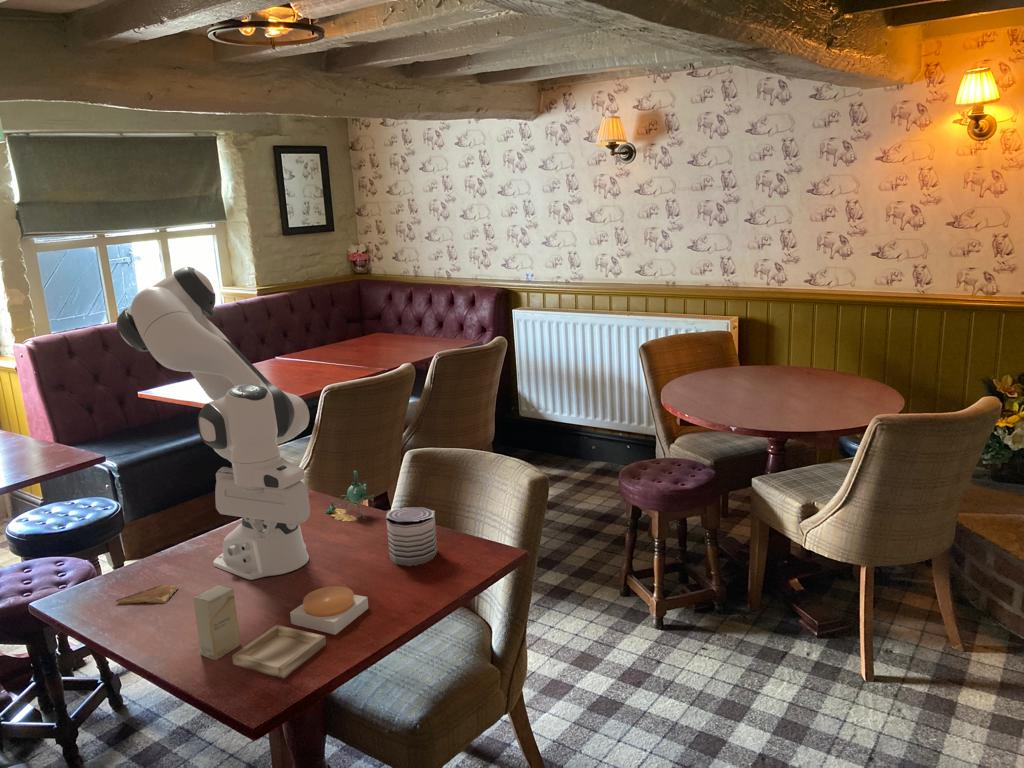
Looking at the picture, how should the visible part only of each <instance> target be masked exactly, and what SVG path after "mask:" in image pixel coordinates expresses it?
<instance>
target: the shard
mask: <svg viewBox="0 0 1024 768" xmlns="http://www.w3.org/2000/svg"><path fill="white" fill-rule="evenodd" d="M177 589H178V590H179V586H178V585H162V584H161V585H158V586H154V587H152V588H149V589H148V588H147V589H145V590H142V591H139V592H136V593H133V594H131V595H128V596H125V597H122V598H119V599H115V602H117V604H118V605H125V603H126V604H142V603H143V604H145V603H144V602H147V603H146V604H152V603H153V604H165V603H167V602H168V600H169V599H170V598H171V597H172V596H173V595H174V594H175V593H176V592H177V591H178V590H177ZM176 590H177V591H176ZM174 592H175V593H174ZM173 593H174V594H173ZM172 594H173V595H172ZM169 597H170V598H169ZM141 602H142V603H141Z"/></svg>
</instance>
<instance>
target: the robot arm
mask: <svg viewBox="0 0 1024 768" xmlns="http://www.w3.org/2000/svg"><path fill="white" fill-rule="evenodd" d="M215 305H216V293H215V290H214V287H213V285H212V283H211V281H210V280H209V278H208V277H207V276H206V275H205V274H203V273H202V272H201V271H199V270H196V269H195V268H194V267H190V266H185V267H181V268H180V269H177V270H175V271H174V272H173V274H171V275H169V276H167V277H166V278H163V279H162V280H160V281H158V282H157V283H155V284H154V285H153V286H152V287H151V286H150V287H148V288H145V289H143V290H141V291H140V292H138V294H136V295H135V296H134V298H133V299H132V301H131V305H130V306H129V307H126V308H124V309H123V310H122V311H121V313H120V314H119V315H118V316H117V318H116V328H117V330H118V331H119V332H118V333H119V334H120V336H121V338H122V339H123V340H124V342H125V343H126V344H128V345H129V346H130V347H133V348H134V349H135V350H137V351H138V352H145V353H146V352H149V353H150V355H151V356H152V357H153V358H154V360H156V362H158V363H159V364H160V365H161V366H163V367H165V368H166V369H168V370H172V371H176V372H185V373H186V372H188V373H189V372H190V374H191V375H192V376H193V377H194V378H195V379H194V380H196V382H197V383H198V385H200V387H201V389H202V390H203V391H204V393H205V394H206V395H207V397H209V399H211V400H212V401H209V402H208V403H205V404H204V405H203V407H202V408H201V410H200V411H199V414H198V417H197V429H198V434H199V437H200V439H201V441H202V442H203V443H204V444H206V445H207V446H209V447H210V448H212V449H213V450H214V452H215V453H217V454H218V456H220V457H222V458H223V459H225V460H227V461H229V462H230V463H231V467H228V466H222V467H220V468H219V469H218V470H217V472H216V473H215V480H216V483H215V491H214V493H215V494H214V495H215V496H214V497H215V509H216V510H217V512H218V513H219V514H220V515H226V516H230V517H231V516H233V517H239V518H242V519H241V523H239V524H238V525H237V526H236V527H235V528H234V529H233V530H231V531H230V532H229V533H228V534H227V535H226V536H225V537H224V539H223V542H222V553H221V554H219V555H217V556H216V557H215V559H214V560H213V562H212V563H213V566H214V567H216V568H218V569H220V570H223V571H225V572H227V573H231V574H234V575H236V576H238V577H240V578H244V579H246V580H250V581H251V580H257V579H260V578H264V577H271V576H279V575H284V574H288V573H290V572H291V573H292V572H293V571H295V570H298V569H300V568H302V567H303V566H305V565H306V564H307V563H308V561H309V559H310V556H309V554H308V551H307V545H306V543H305V542H304V538H303V534H302V528H301V525H300V524H302V523H304V522H305V521H307V520H308V519H309V518H310V515H311V506H310V505H311V504H310V498H309V492H308V489H307V486H306V484H305V483H304V482H303V481H302V480H304V479H305V475H306V474H305V470H304V468H302V467H301V466H298V465H296V464H295V463H292V462H290V461H288V460H287V459H285V458H283V457H282V456H281V451H280V447H279V445H281V444H283V443H285V442H288V441H290V440H293V439H294V438H295V437H297V436H298V435H300V434H301V433H302V432H303V431H304V430H306V429H307V427H308V426H309V422H310V411H309V408H308V405H307V403H306V402H305V401H304V400H303V398H301V397H300V396H298V395H296V394H294V393H290V392H287V391H284V390H281V389H280V388H278V386H276V385H274V384H273V383H272V382H270V381H269V380H268V379H267V378H266V377H265V376H264V375H263V374H262V373H261V371H259V369H258V368H256V366H255V365H254V364H253V363H252V362H251V361H250V360H249V359H248V358H247V357H246V356H245V355H244V354H243V353H242V352H241V351H240V350H239V349H238V348H237V347H236V346H235V345H234V344H233V343H232V342H231V341H230V340H229V338H227V336H226V335H225V334H224V333H223V332H222V331H221V330H220V329H219V328H218V327H217V326H216V325H214V323H213V322H212V321H210V320H209V319H208V318H207V316H206V315H207V314H208V315H209V316H210V317H213V316H215V315H214V314H215V312H214V307H215Z"/></svg>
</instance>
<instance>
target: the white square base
mask: <svg viewBox="0 0 1024 768" xmlns="http://www.w3.org/2000/svg"><path fill="white" fill-rule="evenodd" d="M368 599H369V598H368V596H365V595H364V596H363V595H358V594H354V604H353V606H352V607H351V608H349V609H348V610H346V611H345V612H342V613H340V614H337V615H333V616H326V617H318V616H312V615H309V614H307V613H306V612H305V610H304V604H303V603H302V604H301V605H298V606H297V607H296V608H294V609H293V610H292V611H290V612H289V614H290V616H289V617H290V622H291V623H290V624H291V625H295V626H299V627H303V628H306V629H311V630H316V631H318V632H323V633H327V634H331V635H334V636H336V635H337V634H339V633H340V632H341V631H342V630H343V629H344V628H346V627H347V626H348V625H350V624H351V623H352V622H353V621H354V620H356V619H357V618H358V617H359V616H361V615H362V614H363V613H364V612H366V611H367V610H368V609H369V600H368Z"/></svg>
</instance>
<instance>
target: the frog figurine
mask: <svg viewBox="0 0 1024 768" xmlns="http://www.w3.org/2000/svg"><path fill="white" fill-rule="evenodd" d="M358 476H359V475H358V471H357V470H354V471H353V478H354V481H353V482H352V483H351V485H350V486H349V487H348V489H347V492H346V494H342V495H340V501H339V504H338V506H339V507H342V504H341V503H342V501H343V502H344V504H345V506H346V509H342V508H336V507H337V505H336V504H334V501H333V500H331V505H328V507H326V509H325V511H324V514H330V516H332V517H334V519H335V520H337V521H341V522H353V521H357V520H358V518H357V517H355V516H353V515H349V514H348V511H350V506H351V505H353V506H356V507H357V509H358V512H359V517H361V515H362V518H363V519H367V517H366V516H364V513H363V510H362V508H361V506H360V505H359V503H360V502H363V500H365V498H367V499H369V500H371V501H372V502H374V497H375V495H374V494H371V495H369V492H366V489H367V487H368V485H367V483H368V482H367V481H366V480H363V485H362V484H361V482H360V481H359V477H358ZM343 497H345V498H343ZM370 497H372V498H370ZM342 498H343V499H342ZM346 500H347V501H349V504H348V505H347V503H346ZM332 513H333V514H332Z"/></svg>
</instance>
